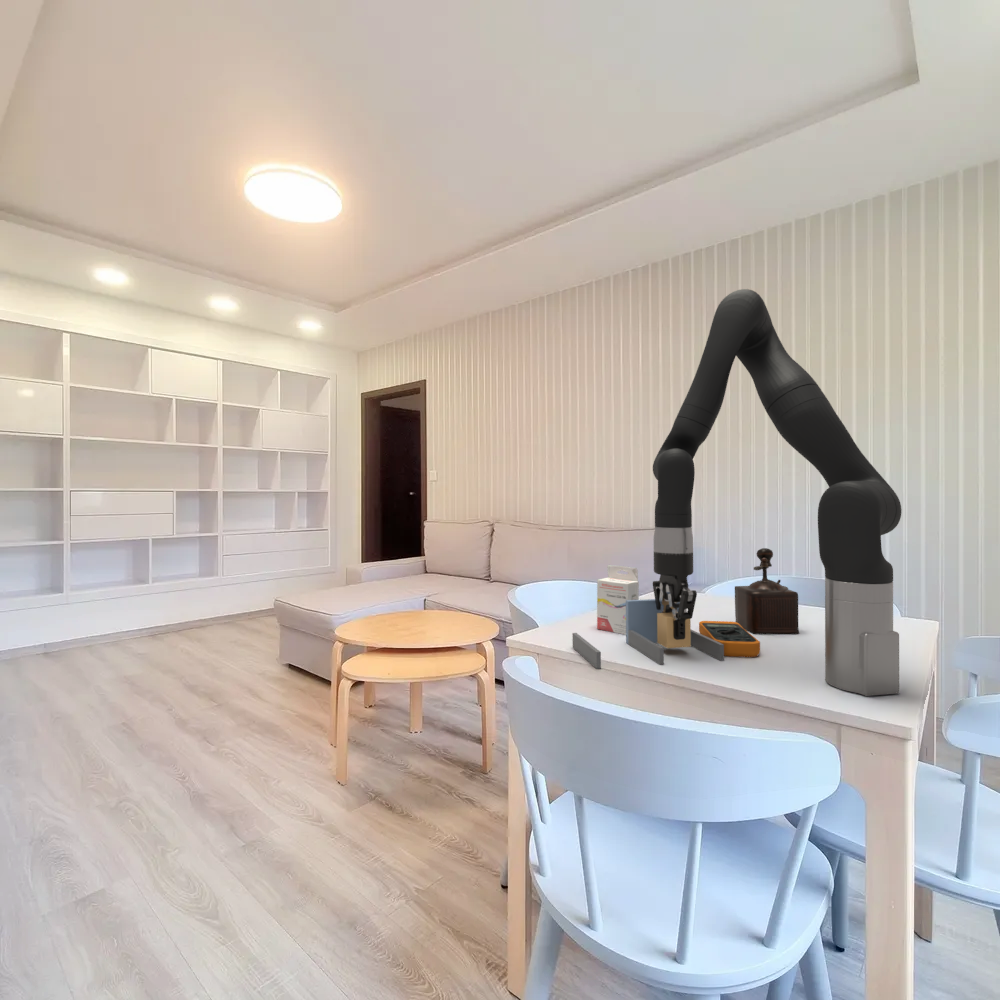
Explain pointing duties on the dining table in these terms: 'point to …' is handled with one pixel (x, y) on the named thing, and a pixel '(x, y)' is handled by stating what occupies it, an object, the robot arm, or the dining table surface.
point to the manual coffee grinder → (766, 603)
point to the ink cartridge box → (616, 598)
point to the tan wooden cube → (671, 632)
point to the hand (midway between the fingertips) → (673, 635)
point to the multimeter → (731, 638)
